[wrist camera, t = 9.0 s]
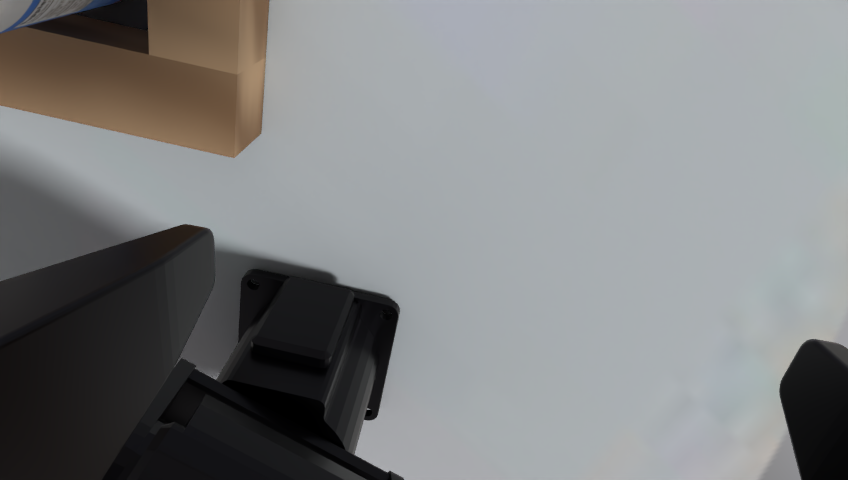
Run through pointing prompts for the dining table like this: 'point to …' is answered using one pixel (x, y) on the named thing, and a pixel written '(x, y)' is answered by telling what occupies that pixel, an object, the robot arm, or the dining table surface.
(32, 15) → the pill bottle
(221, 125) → the socket block
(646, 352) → the dining table surface
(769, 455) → the dining table surface
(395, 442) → the dining table surface
